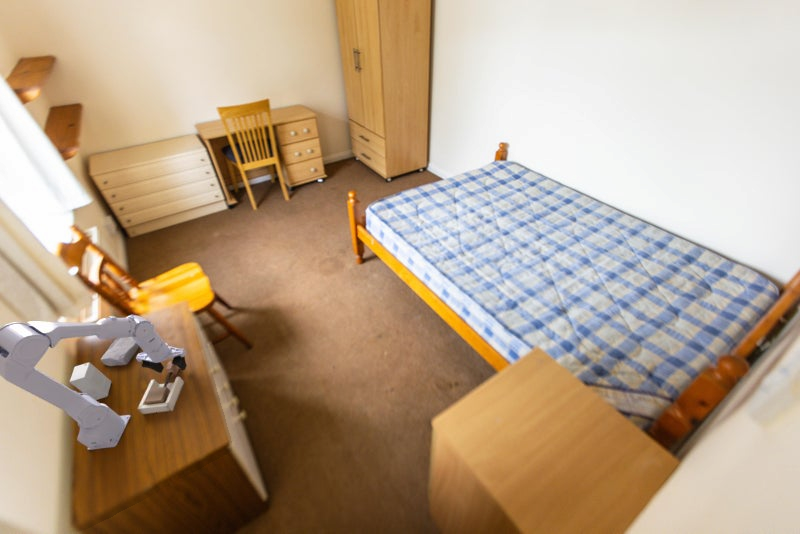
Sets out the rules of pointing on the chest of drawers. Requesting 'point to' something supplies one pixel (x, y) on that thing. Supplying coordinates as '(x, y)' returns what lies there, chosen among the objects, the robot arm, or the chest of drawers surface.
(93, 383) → the skincare box
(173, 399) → the tray
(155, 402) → the corded block
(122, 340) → the stone block
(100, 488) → the chest of drawers surface
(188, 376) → the chest of drawers surface
